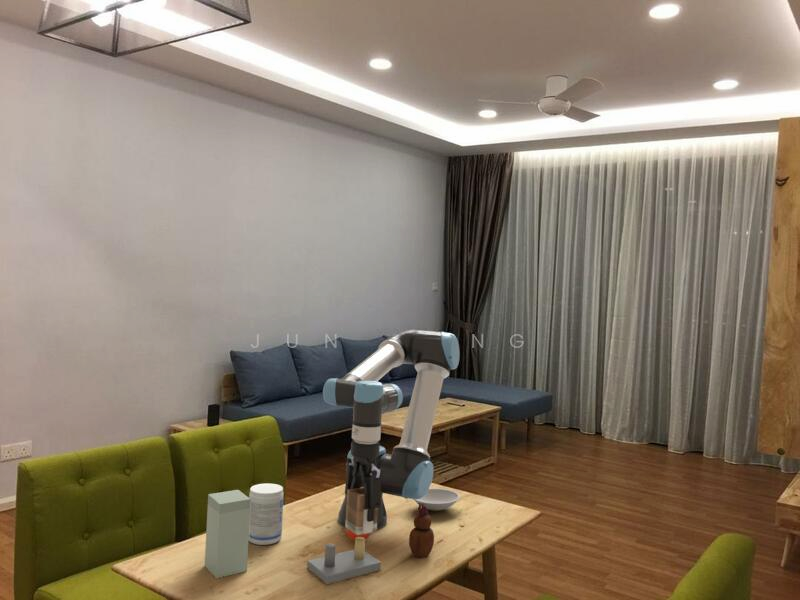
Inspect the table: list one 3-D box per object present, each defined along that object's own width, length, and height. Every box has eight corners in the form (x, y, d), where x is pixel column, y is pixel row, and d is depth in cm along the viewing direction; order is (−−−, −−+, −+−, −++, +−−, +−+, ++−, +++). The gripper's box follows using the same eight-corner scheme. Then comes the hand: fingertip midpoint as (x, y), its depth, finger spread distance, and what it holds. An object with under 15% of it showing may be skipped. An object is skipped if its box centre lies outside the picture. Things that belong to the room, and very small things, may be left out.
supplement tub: (286, 542, 178) (289, 491, 178) (254, 548, 173) (257, 495, 173) (273, 530, 187) (276, 481, 186) (242, 536, 181) (244, 485, 181)
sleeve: (364, 523, 171) (366, 486, 171) (376, 530, 166) (378, 492, 166) (345, 527, 167) (347, 489, 167) (357, 535, 162) (359, 496, 162)
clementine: (377, 543, 182) (378, 518, 182) (358, 549, 177) (359, 523, 177) (360, 534, 188) (361, 510, 188) (341, 539, 183) (342, 514, 183)
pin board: (359, 555, 173) (361, 529, 173) (380, 569, 165) (381, 543, 165) (307, 568, 163) (308, 541, 163) (326, 584, 155) (328, 556, 155)
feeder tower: (235, 558, 167) (239, 489, 166) (248, 570, 160) (251, 498, 160) (204, 565, 162) (208, 494, 161) (215, 578, 155) (219, 504, 155)
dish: (441, 499, 222) (442, 485, 222) (469, 513, 210) (470, 498, 210) (401, 507, 212) (402, 492, 212) (427, 522, 200) (428, 506, 200)
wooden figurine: (415, 561, 171) (418, 506, 171) (405, 552, 177) (408, 499, 176) (436, 557, 175) (439, 503, 174) (426, 549, 180) (429, 496, 179)
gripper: (334, 433, 171) (329, 518, 172) (374, 450, 156) (368, 543, 157) (358, 431, 176) (353, 514, 176) (398, 447, 161) (393, 538, 161)
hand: (360, 528), depth 166 cm, fingers closed on sleeve, 6 cm apart
